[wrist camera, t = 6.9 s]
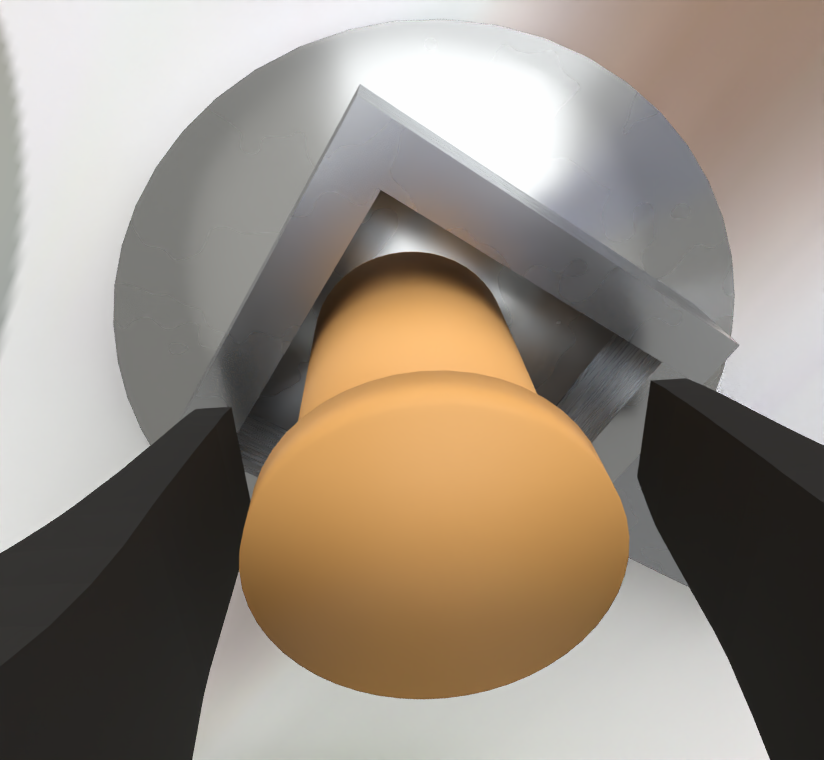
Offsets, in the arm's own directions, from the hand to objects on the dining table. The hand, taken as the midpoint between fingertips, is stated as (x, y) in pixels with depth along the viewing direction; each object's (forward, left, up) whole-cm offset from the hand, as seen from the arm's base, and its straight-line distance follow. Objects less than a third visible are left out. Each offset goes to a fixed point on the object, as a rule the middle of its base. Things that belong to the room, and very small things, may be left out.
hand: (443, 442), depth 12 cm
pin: (+1, 0, -3) cm, 3 cm away
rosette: (-3, 0, -4) cm, 5 cm away
